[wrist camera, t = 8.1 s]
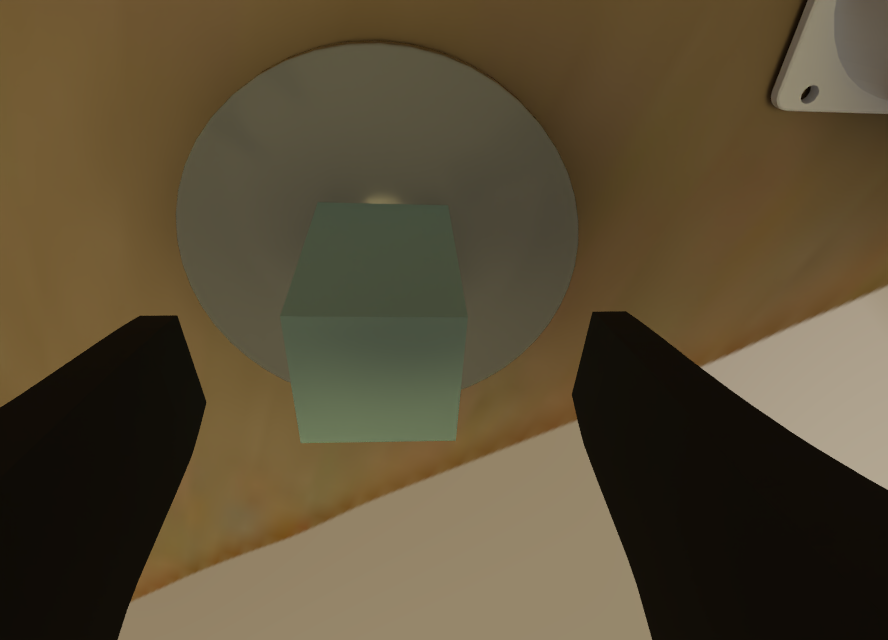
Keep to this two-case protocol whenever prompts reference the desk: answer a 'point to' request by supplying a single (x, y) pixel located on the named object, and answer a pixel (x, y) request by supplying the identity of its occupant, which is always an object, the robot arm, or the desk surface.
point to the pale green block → (376, 325)
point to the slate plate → (377, 190)
